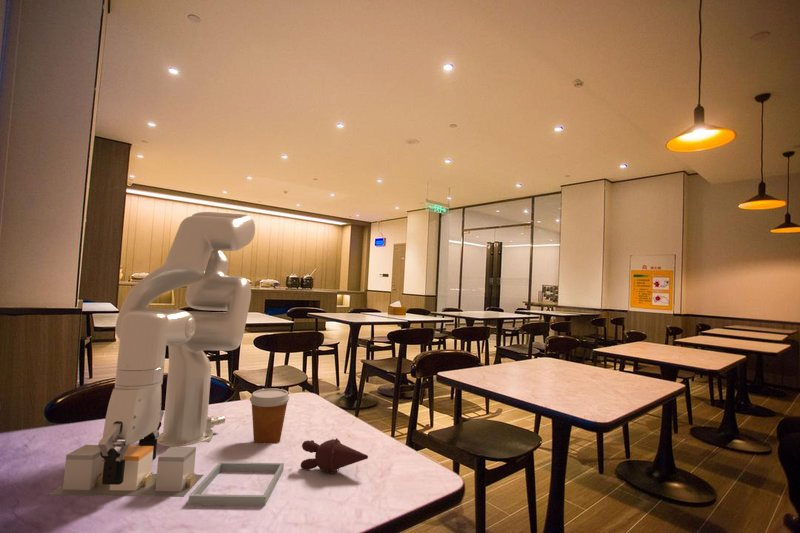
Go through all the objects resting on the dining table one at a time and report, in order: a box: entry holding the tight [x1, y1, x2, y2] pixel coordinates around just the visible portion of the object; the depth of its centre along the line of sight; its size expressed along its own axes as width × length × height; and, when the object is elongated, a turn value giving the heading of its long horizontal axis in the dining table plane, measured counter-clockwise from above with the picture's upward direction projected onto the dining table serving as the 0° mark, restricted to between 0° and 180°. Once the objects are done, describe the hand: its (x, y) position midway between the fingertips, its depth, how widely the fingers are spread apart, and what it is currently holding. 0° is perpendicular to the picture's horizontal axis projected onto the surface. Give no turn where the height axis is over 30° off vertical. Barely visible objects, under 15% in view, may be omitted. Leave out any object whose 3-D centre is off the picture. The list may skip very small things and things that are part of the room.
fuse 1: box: [62, 444, 104, 490], centre depth 71 cm, size 5×5×6 cm
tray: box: [187, 461, 285, 507], centre depth 72 cm, size 13×13×2 cm
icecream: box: [300, 437, 369, 475], centre depth 82 cm, size 7×7×15 cm
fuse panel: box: [47, 472, 204, 498], centre depth 71 cm, size 8×23×3 cm, turn 94°
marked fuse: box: [110, 445, 154, 491], centre depth 71 cm, size 5×5×6 cm
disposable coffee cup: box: [249, 388, 291, 445], centre depth 96 cm, size 10×10×12 cm
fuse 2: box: [155, 446, 197, 491], centre depth 72 cm, size 5×5×6 cm
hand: (130, 470), depth 71 cm, fingers open, 9 cm apart
